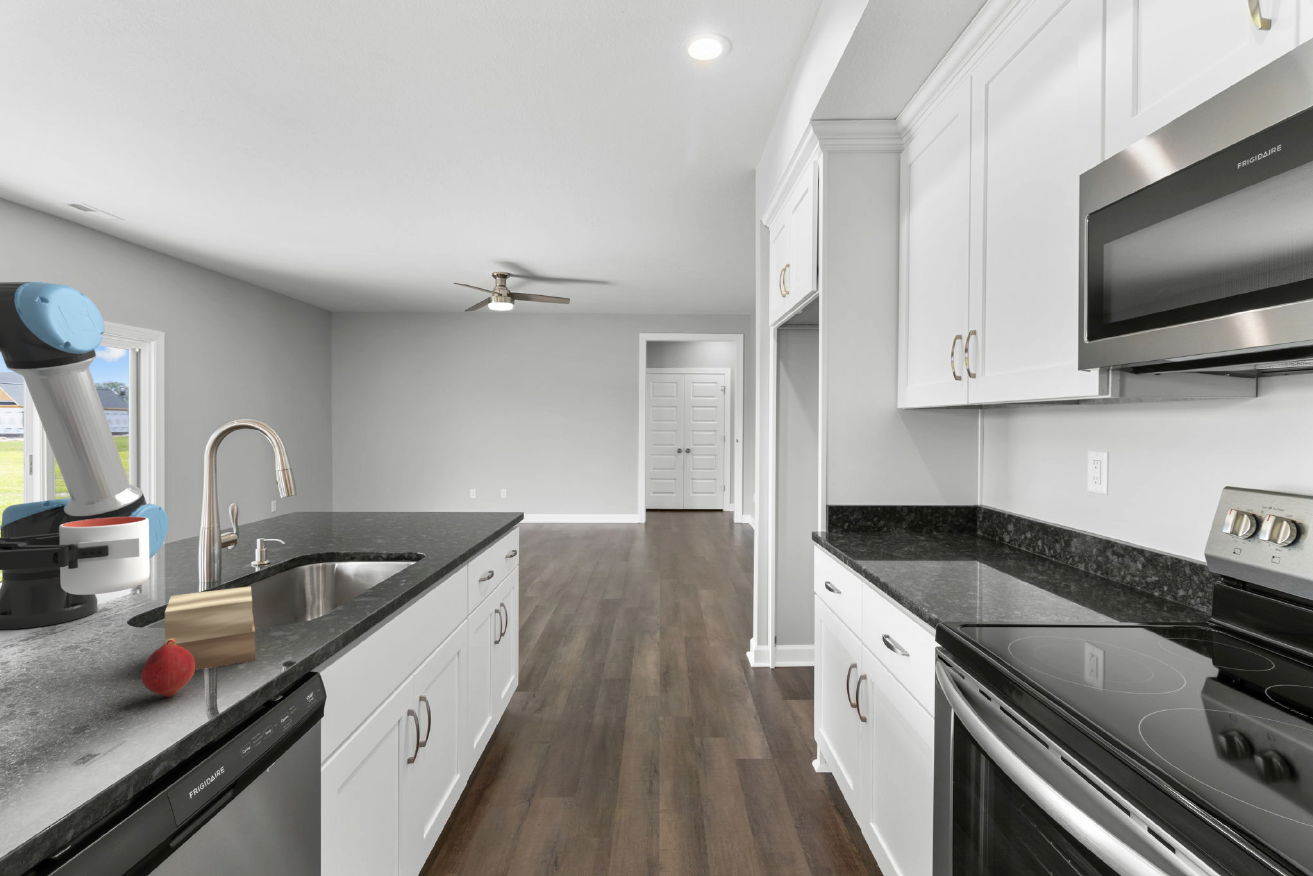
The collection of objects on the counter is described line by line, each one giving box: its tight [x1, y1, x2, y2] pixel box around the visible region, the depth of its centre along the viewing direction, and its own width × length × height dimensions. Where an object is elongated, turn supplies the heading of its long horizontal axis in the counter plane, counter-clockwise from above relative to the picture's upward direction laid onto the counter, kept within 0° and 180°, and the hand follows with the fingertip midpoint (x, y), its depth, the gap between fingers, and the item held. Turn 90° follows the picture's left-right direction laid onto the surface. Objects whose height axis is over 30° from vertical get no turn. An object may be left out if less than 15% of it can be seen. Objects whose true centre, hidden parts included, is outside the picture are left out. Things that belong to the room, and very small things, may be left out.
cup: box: [59, 517, 151, 595], centre depth 93 cm, size 10×10×10 cm
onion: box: [140, 638, 196, 698], centre depth 86 cm, size 6×6×8 cm
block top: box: [164, 586, 253, 644], centre depth 101 cm, size 11×11×5 cm
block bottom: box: [176, 614, 256, 670], centre depth 101 cm, size 11×11×5 cm
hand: (142, 541), depth 96 cm, fingers closed on cup, 10 cm apart
